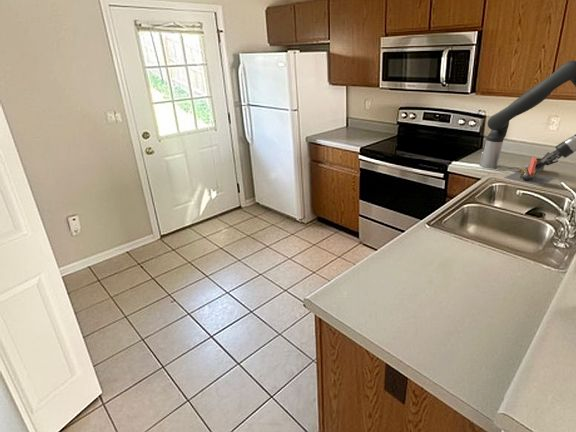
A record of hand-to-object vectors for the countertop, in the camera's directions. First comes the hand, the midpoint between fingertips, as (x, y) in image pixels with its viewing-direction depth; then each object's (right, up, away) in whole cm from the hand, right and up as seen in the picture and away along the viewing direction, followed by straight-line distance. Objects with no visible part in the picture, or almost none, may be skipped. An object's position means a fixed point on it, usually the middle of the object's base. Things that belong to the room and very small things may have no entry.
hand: (535, 167), depth 197 cm
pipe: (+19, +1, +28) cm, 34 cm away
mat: (+5, -5, +13) cm, 15 cm away
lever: (+1, -1, +7) cm, 7 cm away
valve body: (+4, -4, +14) cm, 15 cm away
